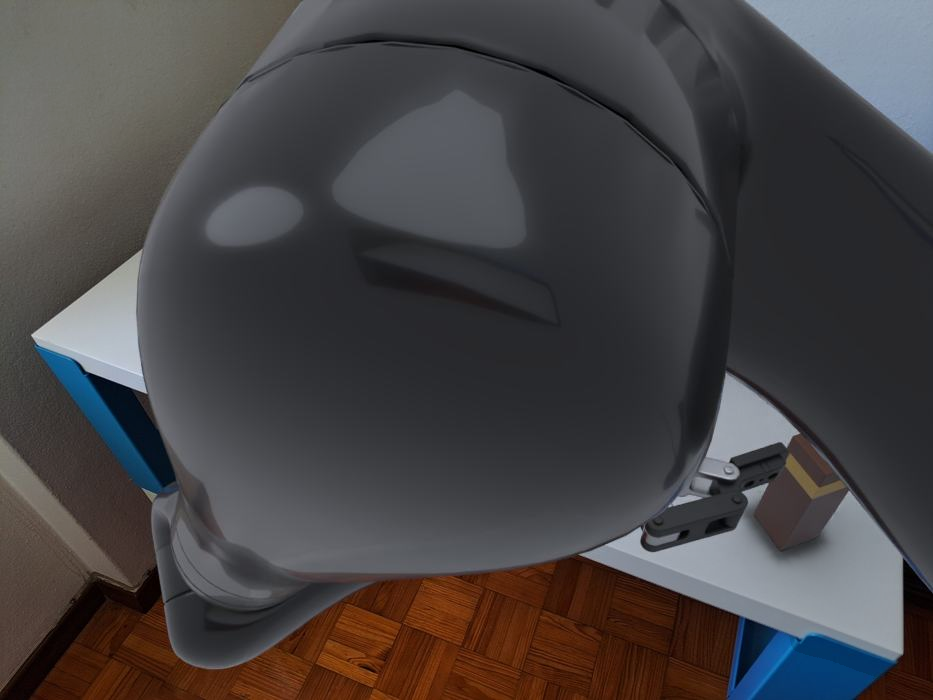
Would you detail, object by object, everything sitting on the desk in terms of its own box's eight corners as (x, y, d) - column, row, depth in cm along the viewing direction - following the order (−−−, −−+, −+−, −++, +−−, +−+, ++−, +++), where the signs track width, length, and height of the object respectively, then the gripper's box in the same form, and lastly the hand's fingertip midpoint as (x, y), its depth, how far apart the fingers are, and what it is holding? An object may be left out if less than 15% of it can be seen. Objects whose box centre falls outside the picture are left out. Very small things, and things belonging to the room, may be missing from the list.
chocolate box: (818, 537, 61) (870, 460, 53) (780, 552, 60) (826, 476, 52) (789, 500, 64) (834, 421, 55) (751, 513, 63) (791, 435, 55)
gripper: (560, 548, 34) (837, 455, 37) (467, 351, 43) (694, 291, 46) (551, 612, 39) (793, 526, 42) (470, 425, 48) (673, 366, 52)
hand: (741, 403), depth 44 cm, fingers open, 8 cm apart
